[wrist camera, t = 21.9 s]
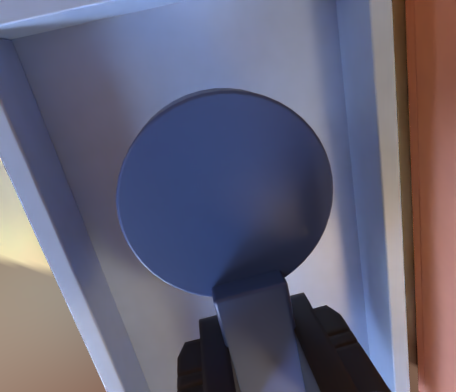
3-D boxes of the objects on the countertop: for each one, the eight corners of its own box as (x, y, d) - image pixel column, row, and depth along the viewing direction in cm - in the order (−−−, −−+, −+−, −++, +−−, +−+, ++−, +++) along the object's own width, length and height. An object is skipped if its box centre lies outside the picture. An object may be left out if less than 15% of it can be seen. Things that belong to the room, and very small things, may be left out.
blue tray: (-10, 22, 10) (-70, 8, 8) (342, -55, 10) (388, -91, 8) (172, 470, 17) (171, 536, 14) (382, 412, 17) (414, 467, 15)
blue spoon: (354, 447, 13) (380, 503, 11) (222, 485, 13) (228, 547, 11) (302, 65, 9) (331, 64, 7) (94, 115, 8) (73, 126, 7)
